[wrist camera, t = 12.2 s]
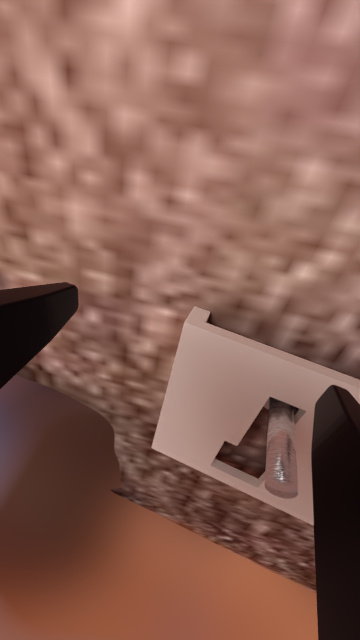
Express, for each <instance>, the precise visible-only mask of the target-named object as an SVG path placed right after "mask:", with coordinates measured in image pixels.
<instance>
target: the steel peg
mask: <svg viewBox="0 0 360 640" xmlns="http://www.w3.org/2000/svg"><path fill="white" fill-rule="evenodd" d="M264 407H265V408H267V409H268V410H269V415H268V433H267V450H266V468H265V488H266V490H267V491H268V492H270V493H271V494H273V495H275V496H277V497H280V498H285V499H291V498H295V497H296V496H297V495H298V483H297V462H296V440H295V419H294V413H297V412H298V410H299V409H300V408H297V407H295V406H292V405H290V404H287V403H285V402H282V401H280V400H277V399H275V398H273V397H269V398H268V400H267V401H266V403H265V404H264Z"/></svg>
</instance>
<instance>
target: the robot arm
mask: <svg viewBox="0 0 360 640" xmlns="http://www.w3.org/2000/svg"><path fill="white" fill-rule="evenodd" d="M78 305H79V304H78V289H77V287H76V286H75V285H72V284H70V283H67V282H63V283H54V284H46V285H38V286H30V287H21V288H13V289H5V290H0V389H1V388H2V387H3V386H4V385H5V384H6V383H7V382H8V381H9V380H10V379H11V378H12V377H13V376H14V375H16V374H17V373H18V372H19V371H20V370H21V369H22V368H23V367H24V366H25V365H26V364H27V363H28V362H29V361H30V360H31V359H32V358H33V357H34V356H36V355H37V354H38V353H39V352H40V351H41V350H42V349H43V348H44V347H45V346H46V345H47V344H48V343H49V342H50V341H51V340H52V339H53V338H54V337H55V336H56V334H57V333H58V332H59V331H60V330H61V329H62V327H63V326H64V325H65V324H66V323H67V322H68V320H69V319H70V318H71V317H72V316H73V315H74V313H75V312H76V311H77V309H78ZM311 467H312V491H313V516H314V541H315V566H316V590H317V615H318V638H319V639H318V640H360V404H359V403H358V402H357V400H356V399H355V398H354V397H353V396H352V395H351V393H350V392H349V391H348V390H346V389H344V388H342V387H339V386H337V385H330V386H329V387H328V388H327V389H326V391H325V392H324V393H323V394H322V395H321V396H320V398H319V399H318V400H317V402H316V404H315V409H314V422H313V434H312V446H311Z"/></svg>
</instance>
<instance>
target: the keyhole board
mask: <svg viewBox="0 0 360 640" xmlns="http://www.w3.org/2000/svg"><path fill="white" fill-rule="evenodd" d="M209 315H210V311H207V310H204V309H201V308H199V307H196V306H194V308H193V309H192V311H191V312H190V314H189V316H188V317H187V319H186V320H185V322H184V326H183V329H182V333H181V337H180V341H179V345H178V349H177V352H176V356H175V360H174V364H173V368H172V372H171V375H170V379H169V383H168V387H167V391H166V395H165V398H164V402H163V406H162V410H161V414H160V417H159V421H158V425H157V429H156V433H155V437H154V440H153V444H152V448H153V449H155V450H157V451H159V452H161V453H163V454H165V455H167V456H169V457H171V458H173V459H175V460H178V461H180V462H182V463H184V464H186V465H188V466H190V467H192V468H194V469H196V470H198V471H200V472H203V473H205V474H207V475H209V476H211V477H213V478H215V479H217V480H219V481H221V482H223V483H225V484H228V485H230V486H232V487H234V488H236V489H238V490H240V491H242V492H244V493H246V494H248V495H250V496H253V497H255V498H257V499H259V500H261V501H263V502H265V503H267V504H269V505H271V506H273V507H275V508H278V509H280V510H282V511H284V512H286V513H288V514H290V515H292V516H294V517H296V518H298V519H300V520H303V521H305V522H307V523H309V524H311V525H314V516H313V491H312V467H311V446H312V434H313V422H314V409H315V404H316V402H317V400H318V399H319V398H320V396H321V395H322V394H323V393H324V392H325V391H326V389H327V388H328V387H329V386H330V385H337V386H339V387H342V388H344V389H346V390H348V391H349V392H350V393H351V395H352V396H353V397H354V398H355V399H356V400H357V402H358V403H359V404H360V380H359V379H356V378H354V377H351V376H348V375H346V374H343V373H340V372H338V371H335V370H332V369H330V368H327V367H324V366H321V365H319V364H316V363H313V362H311V361H308V360H305V359H303V358H300V357H297V356H295V355H292V354H289V353H287V352H284V351H281V350H278V349H276V348H273V347H270V346H268V345H265V344H262V343H260V342H257V341H254V340H252V339H249V338H246V337H244V336H241V335H238V334H235V333H233V332H230V331H227V330H225V329H222V328H219V327H217V326H214V325H211V324H209V323H207V321H208V318H209ZM269 397H273V398H275V399H277V400H280V401H282V402H285V403H287V404H290V405H292V406H295V407H297V408H300V409H299V410H298V412H297V413H296V414H295V415H294V419H295V440H296V462H297V483H298V495H297V496H296V497H295V498H291V499H285V498H280V497H277V496H275V495H273V494H271V493H270V492H268V491H267V490H266V488H265V472H264V473H263V474H262V475H261V476H260V478H259V479H258V478H255V477H253V476H251V475H249V474H247V473H245V472H243V471H240V470H238V469H236V468H234V467H232V466H230V465H228V464H225V463H223V462H221V461H219V460H217V459H215V457H216V455H217V453H218V452H219V450H220V448H221V447H222V445H223V443H224V441H227V442H229V443H231V444H233V445H236V446H238V444H239V443H240V441H241V440H242V438H243V436H244V435H245V433H246V432H247V430H248V429H249V427H250V426H251V424H252V423H253V421H254V420H255V418H256V417H257V415H258V414H259V412H260V411H261V409H262V408H263V406H264V404H265V403H266V401H267V400H268V398H269Z"/></svg>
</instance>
